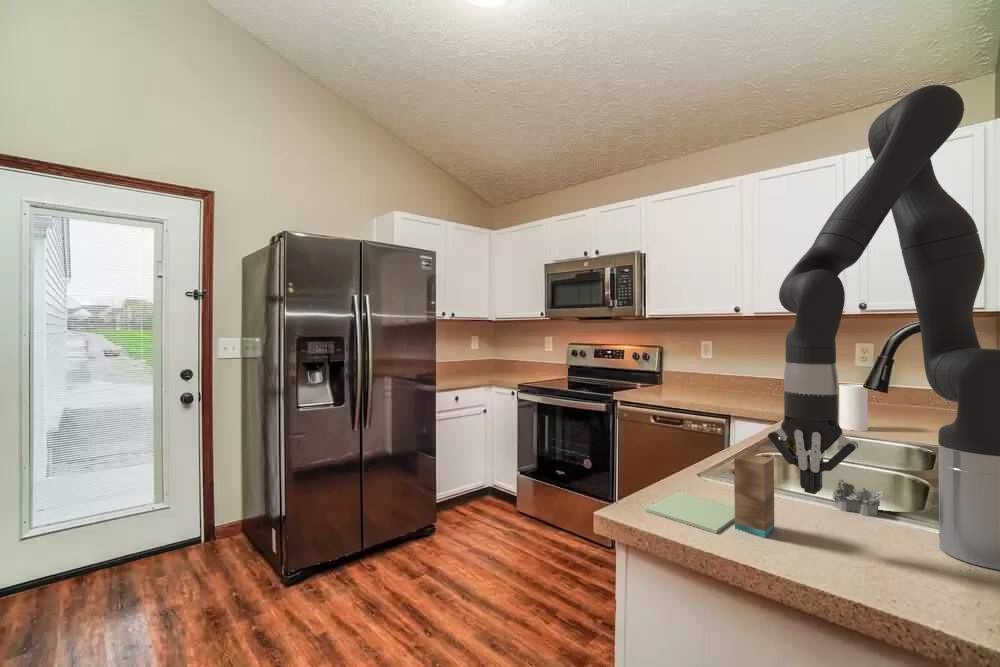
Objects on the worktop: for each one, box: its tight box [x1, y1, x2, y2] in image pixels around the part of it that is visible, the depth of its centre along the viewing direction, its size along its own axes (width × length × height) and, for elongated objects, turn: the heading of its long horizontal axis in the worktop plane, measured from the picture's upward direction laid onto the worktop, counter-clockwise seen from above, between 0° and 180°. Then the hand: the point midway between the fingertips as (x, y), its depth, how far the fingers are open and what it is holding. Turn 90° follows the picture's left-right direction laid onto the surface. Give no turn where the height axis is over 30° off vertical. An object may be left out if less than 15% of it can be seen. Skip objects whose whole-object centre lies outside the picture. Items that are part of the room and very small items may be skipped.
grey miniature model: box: [832, 478, 884, 517], centre depth 93 cm, size 11×8×4 cm
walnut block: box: [733, 453, 775, 539], centre depth 83 cm, size 5×5×13 cm
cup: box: [838, 383, 869, 432], centre depth 166 cm, size 8×8×16 cm
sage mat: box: [645, 491, 735, 534], centre depth 91 cm, size 14×14×1 cm
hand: (811, 492), depth 76 cm, fingers closed
